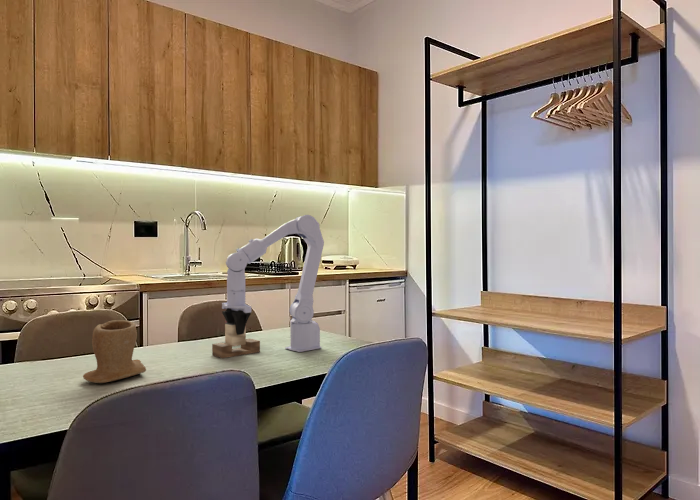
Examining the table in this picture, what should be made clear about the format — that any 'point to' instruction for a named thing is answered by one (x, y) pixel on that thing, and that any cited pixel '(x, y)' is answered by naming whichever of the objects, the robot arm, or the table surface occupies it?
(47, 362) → the table surface
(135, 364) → the stone cup
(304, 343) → the robot arm
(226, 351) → the brown u-shaped block
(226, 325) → the tan wooden block
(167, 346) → the table surface
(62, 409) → the table surface
